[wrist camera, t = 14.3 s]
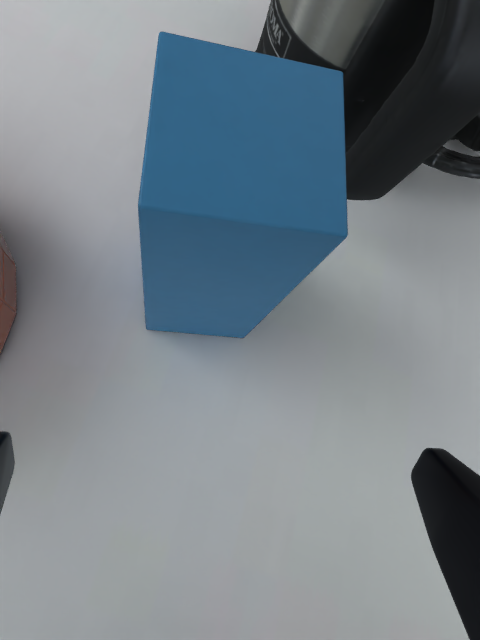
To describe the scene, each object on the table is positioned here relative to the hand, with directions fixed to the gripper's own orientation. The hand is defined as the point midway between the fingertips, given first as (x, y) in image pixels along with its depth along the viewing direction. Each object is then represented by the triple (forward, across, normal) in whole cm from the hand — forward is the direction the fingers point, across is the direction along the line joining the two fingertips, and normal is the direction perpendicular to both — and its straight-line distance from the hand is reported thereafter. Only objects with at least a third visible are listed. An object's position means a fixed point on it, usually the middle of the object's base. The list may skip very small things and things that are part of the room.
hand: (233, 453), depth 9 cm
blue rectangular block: (+13, 0, +3) cm, 14 cm away
